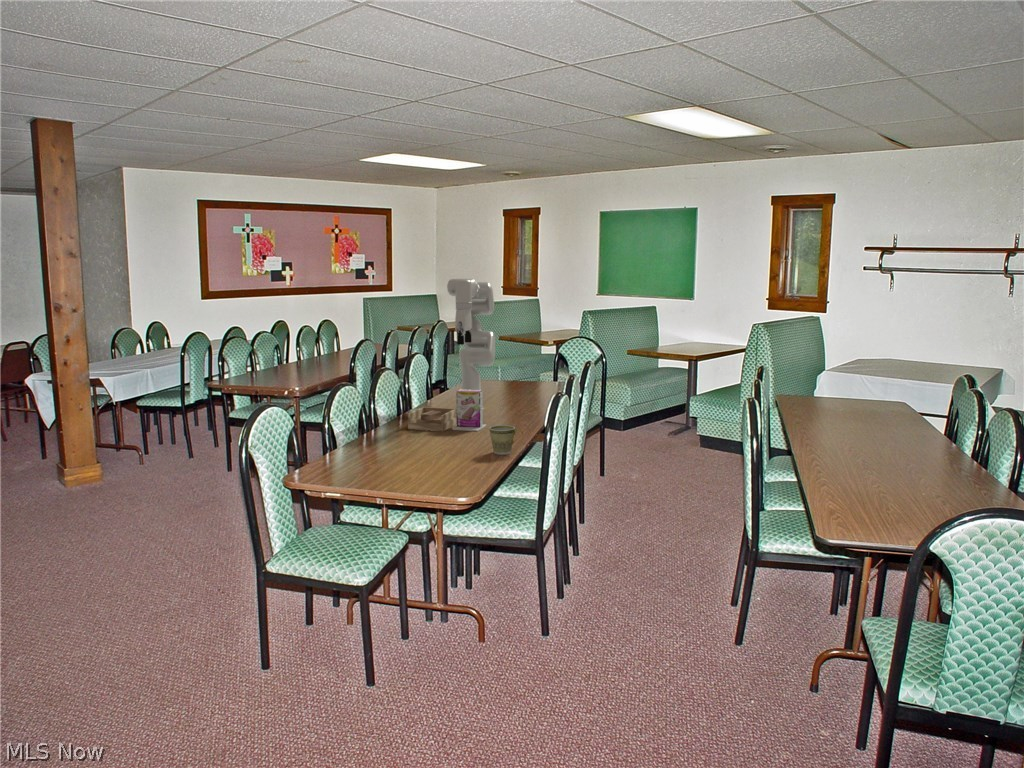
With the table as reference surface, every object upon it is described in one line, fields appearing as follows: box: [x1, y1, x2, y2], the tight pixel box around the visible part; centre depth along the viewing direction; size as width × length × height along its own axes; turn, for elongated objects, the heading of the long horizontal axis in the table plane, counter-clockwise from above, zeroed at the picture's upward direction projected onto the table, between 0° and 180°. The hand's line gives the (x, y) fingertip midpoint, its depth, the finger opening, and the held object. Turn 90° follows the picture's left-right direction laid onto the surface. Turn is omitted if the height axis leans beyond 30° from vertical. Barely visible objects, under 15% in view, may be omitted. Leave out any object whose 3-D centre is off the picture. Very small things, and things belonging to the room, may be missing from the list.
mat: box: [451, 423, 487, 432], centre depth 338 cm, size 12×12×1 cm
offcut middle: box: [416, 417, 441, 424], centre depth 338 cm, size 6×11×2 cm, turn 83°
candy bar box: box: [456, 388, 484, 427], centre depth 337 cm, size 11×5×16 cm, turn 79°
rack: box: [407, 406, 457, 432], centre depth 341 cm, size 17×17×7 cm
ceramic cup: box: [488, 424, 524, 456], centre depth 292 cm, size 13×10×10 cm
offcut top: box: [421, 411, 441, 421], centre depth 337 cm, size 5×9×2 cm, turn 152°
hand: (464, 343), depth 350 cm, fingers open, 9 cm apart
